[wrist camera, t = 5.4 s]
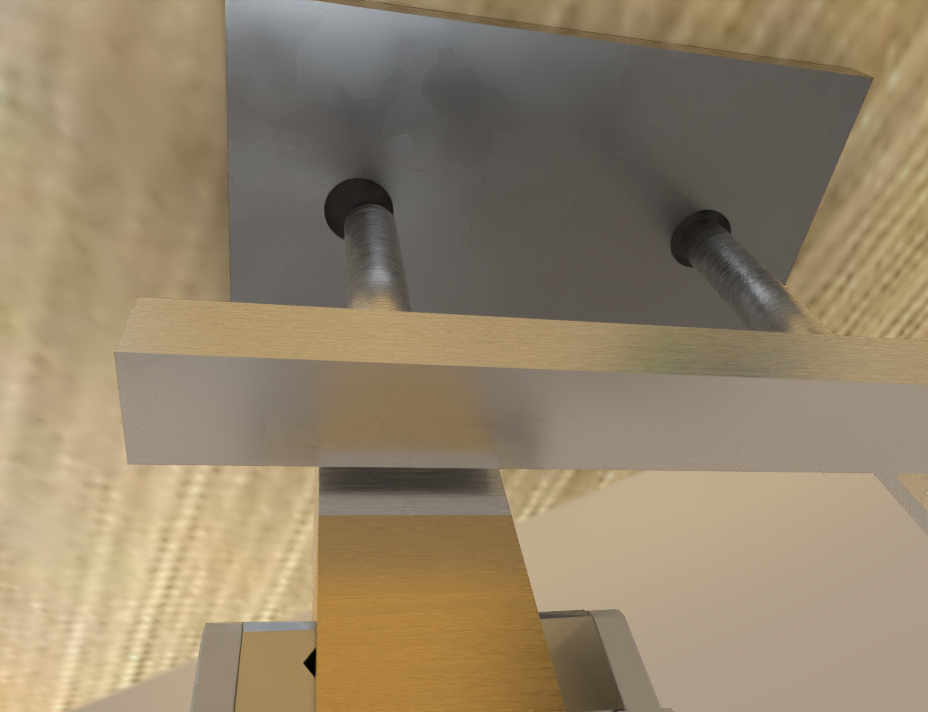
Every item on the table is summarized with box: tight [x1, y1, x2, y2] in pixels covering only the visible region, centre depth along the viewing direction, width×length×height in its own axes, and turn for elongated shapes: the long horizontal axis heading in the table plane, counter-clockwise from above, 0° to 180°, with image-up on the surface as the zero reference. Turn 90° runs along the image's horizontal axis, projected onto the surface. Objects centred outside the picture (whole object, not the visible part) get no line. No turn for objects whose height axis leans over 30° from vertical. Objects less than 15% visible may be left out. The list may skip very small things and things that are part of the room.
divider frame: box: [114, 219, 928, 535], centre depth 19 cm, size 17×4×14 cm, turn 81°
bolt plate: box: [225, 0, 873, 331], centre depth 26 cm, size 20×12×1 cm, turn 81°
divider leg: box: [312, 204, 565, 712], centre depth 16 cm, size 3×2×18 cm
